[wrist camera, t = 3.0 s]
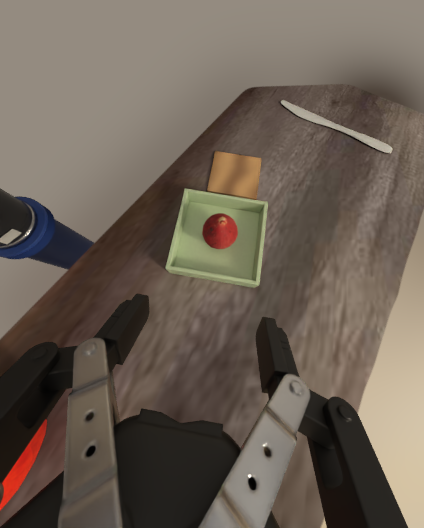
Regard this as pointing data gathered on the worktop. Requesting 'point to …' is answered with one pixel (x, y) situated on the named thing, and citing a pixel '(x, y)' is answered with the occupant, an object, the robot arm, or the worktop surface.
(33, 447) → the apple
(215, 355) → the worktop surface
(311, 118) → the butter knife
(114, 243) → the worktop surface
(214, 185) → the cork mat
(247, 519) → the robot arm
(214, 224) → the red rounded piece
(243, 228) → the tray
